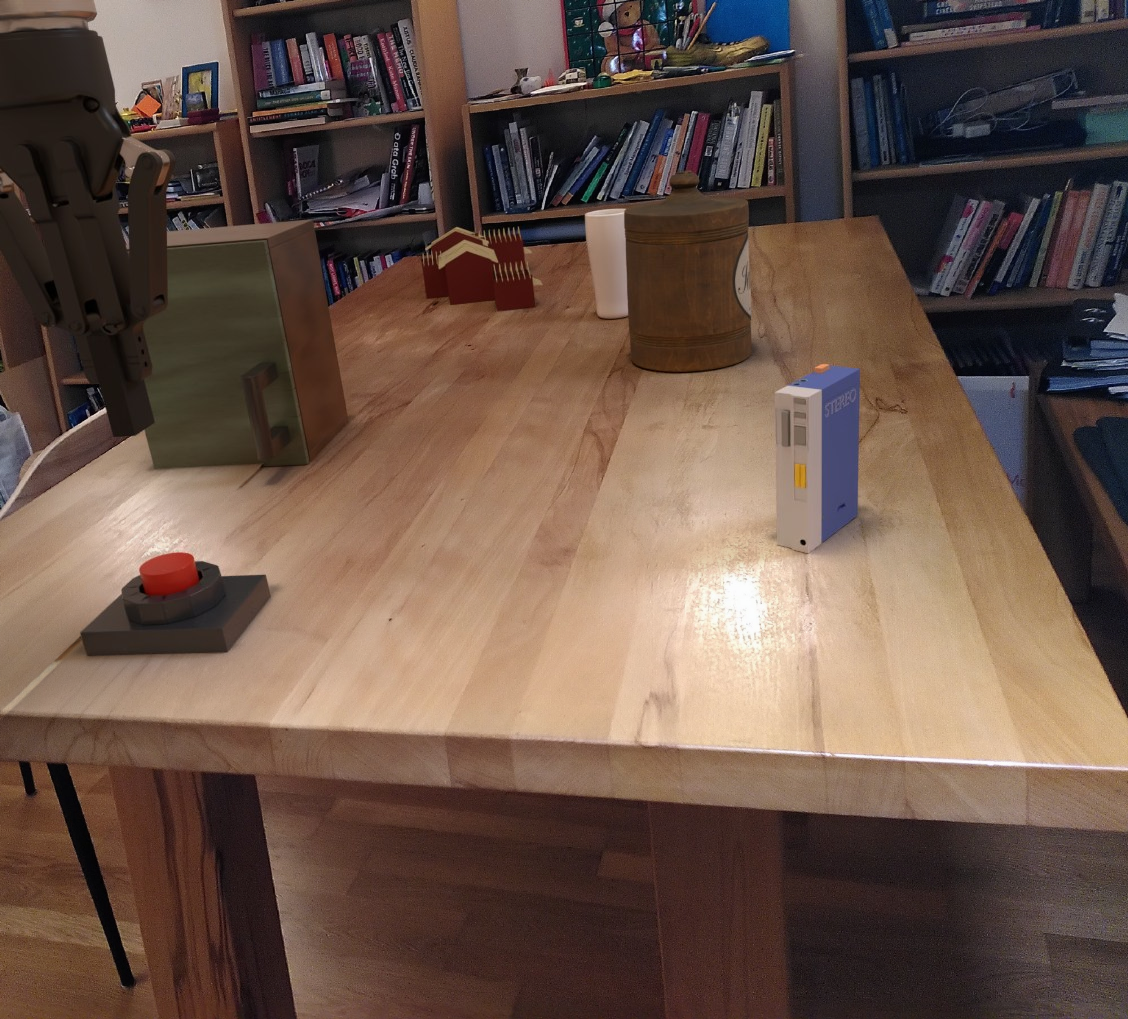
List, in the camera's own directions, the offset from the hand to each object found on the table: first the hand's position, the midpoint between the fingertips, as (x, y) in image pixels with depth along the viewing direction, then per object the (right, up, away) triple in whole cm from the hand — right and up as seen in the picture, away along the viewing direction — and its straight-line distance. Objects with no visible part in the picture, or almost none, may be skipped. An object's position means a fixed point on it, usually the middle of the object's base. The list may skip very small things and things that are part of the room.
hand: (134, 429), depth 68 cm
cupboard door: (-6, -2, +34) cm, 35 cm away
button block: (+1, -13, +5) cm, 15 cm away
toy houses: (+14, +34, +118) cm, 124 cm away
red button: (+1, -10, +4) cm, 11 cm away
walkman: (+47, -7, +11) cm, 49 cm away
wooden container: (+44, +14, +61) cm, 77 cm away
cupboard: (-5, +2, +43) cm, 44 cm away
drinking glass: (+35, +23, +88) cm, 97 cm away
